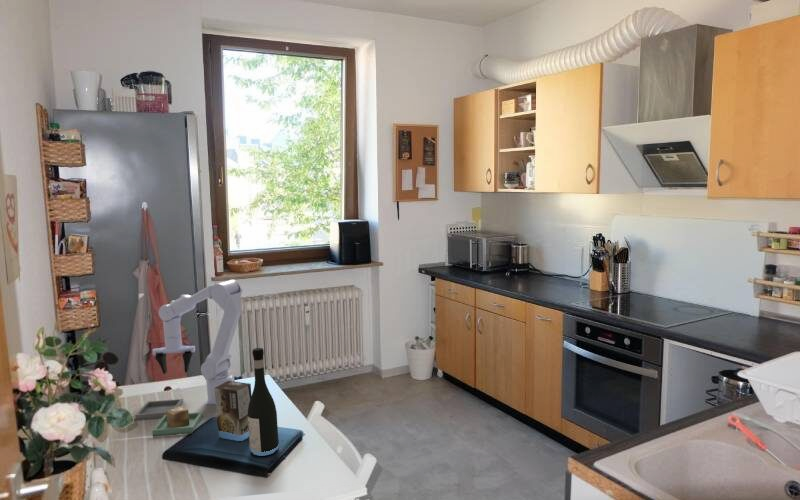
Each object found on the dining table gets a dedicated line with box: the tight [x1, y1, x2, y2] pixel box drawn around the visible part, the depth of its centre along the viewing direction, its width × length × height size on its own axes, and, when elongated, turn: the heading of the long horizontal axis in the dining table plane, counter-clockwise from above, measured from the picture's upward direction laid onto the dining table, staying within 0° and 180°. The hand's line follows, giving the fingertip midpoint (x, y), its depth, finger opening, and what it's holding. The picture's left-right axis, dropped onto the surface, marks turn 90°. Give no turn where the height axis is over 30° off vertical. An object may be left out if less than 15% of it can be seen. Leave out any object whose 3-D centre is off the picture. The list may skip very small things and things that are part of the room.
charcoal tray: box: [134, 398, 184, 420], centre depth 189 cm, size 12×12×2 cm
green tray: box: [151, 411, 203, 438], centre depth 176 cm, size 12×12×2 cm
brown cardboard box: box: [166, 405, 190, 428], centre depth 176 cm, size 5×5×5 cm
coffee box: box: [214, 381, 252, 435], centre depth 167 cm, size 9×6×16 cm
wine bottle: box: [248, 347, 280, 452], centre depth 155 cm, size 8×8×30 cm
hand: (175, 372), depth 202 cm, fingers open, 7 cm apart
